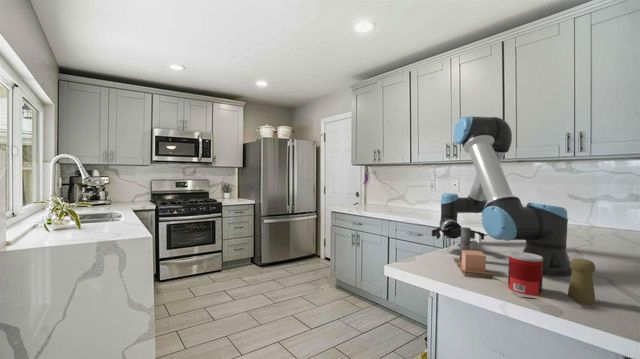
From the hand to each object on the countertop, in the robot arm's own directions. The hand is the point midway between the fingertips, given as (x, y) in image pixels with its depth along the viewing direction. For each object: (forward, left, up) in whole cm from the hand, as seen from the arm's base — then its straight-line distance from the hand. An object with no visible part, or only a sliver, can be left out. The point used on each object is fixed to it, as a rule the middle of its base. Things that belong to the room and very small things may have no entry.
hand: (461, 238), depth 121 cm
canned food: (-30, +17, -8) cm, 36 cm away
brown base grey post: (-11, +11, -8) cm, 17 cm away
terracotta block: (-13, +14, -7) cm, 20 cm away
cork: (-40, +8, -8) cm, 42 cm away
